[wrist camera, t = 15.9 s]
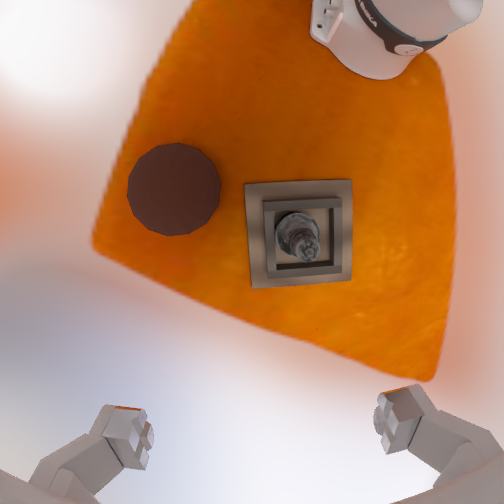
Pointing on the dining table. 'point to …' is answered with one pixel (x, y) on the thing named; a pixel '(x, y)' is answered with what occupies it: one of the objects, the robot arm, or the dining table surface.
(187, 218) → the muffin
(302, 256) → the grey chess piece
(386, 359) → the dining table surface
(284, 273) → the walnut board
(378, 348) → the dining table surface
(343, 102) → the dining table surface
